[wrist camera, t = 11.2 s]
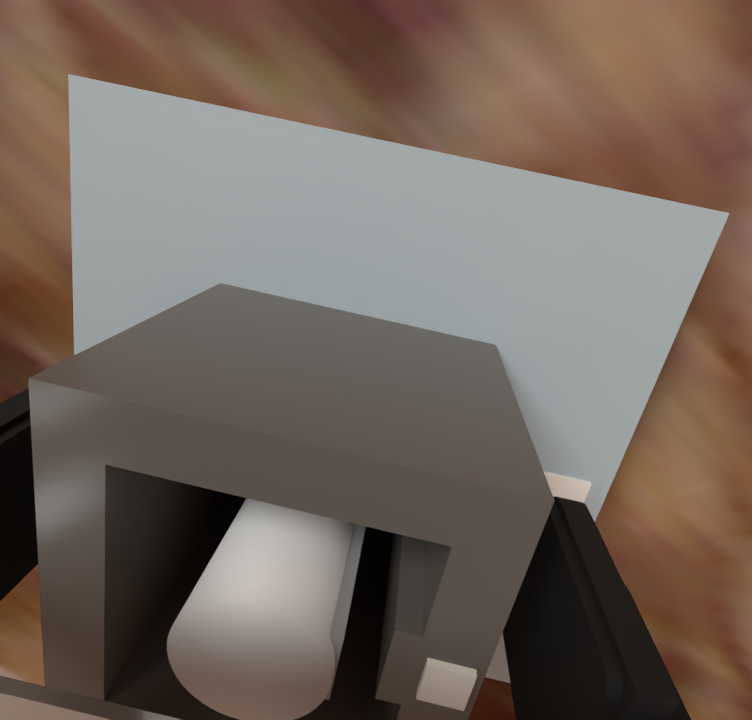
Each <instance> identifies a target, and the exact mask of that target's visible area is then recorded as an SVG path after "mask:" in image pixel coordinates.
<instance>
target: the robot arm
mask: <svg viewBox="0 0 752 720" xmlns="http://www.w3.org/2000/svg"><path fill="white" fill-rule="evenodd" d="M553 498H554V504H553V506H552V509H551V511H550V514H549V516H548V519H547V521H546V524H545V526H544V529H543V531H542V534H541V536H540V539H539V541H538V544H537V546H536V549H535V552H534V554H533V557H532V559H531V562H530V564H529V567H528V569H527V572H526V574H525V577H524V579H523V582H522V584H521V587H520V589H519V592H518V594H517V597H516V600H515V602H514V605H513V607H512V610H511V612H510V615H509V617H508V620H507V622H506V625H505V627H504V630H503V639H504V645H505V651H506V657H507V664H508V670H509V676H510V683H511V689H512V695H513V701H514V708H515V714H516V720H691V719H690V717H689V714H688V712H687V710H686V708H685V706H684V704H683V702H682V700H681V698H680V696H679V694H678V692H677V689H676V687H675V685H674V683H673V681H672V679H671V677H670V675H669V673H668V671H667V669H666V667H665V665H664V662H663V660H662V658H661V656H660V654H659V652H658V650H657V648H656V646H655V644H654V642H653V640H652V637H651V635H650V633H649V631H648V629H647V627H646V625H645V623H644V621H643V619H642V617H641V615H640V613H639V610H638V608H637V606H636V604H635V602H634V600H633V598H632V596H631V594H630V592H629V590H628V589H627V587H626V586H625V584H624V583H623V581H622V579H621V577H620V575H619V573H618V571H617V568H616V566H615V564H614V562H613V560H612V558H611V556H610V554H609V552H608V550H607V547H606V545H605V543H604V541H603V539H602V537H601V535H600V533H599V531H598V529H597V526H596V524H595V522H594V520H593V518H592V516H591V514H590V512H589V510H588V508H587V506H586V504H585V503H582V502H578V501H574V500H570V499H565V498H561V497H557V496H555V497H553ZM37 564H38V548H37V530H36V512H35V493H34V475H33V457H32V438H31V420H30V402H29V389H27V390H25V391H23V392H21V393H19V394H17V395H15V396H13V397H11V398H10V399H8V400H6V401H4V402H2V403H0V601H1V600H2V599H3V598H4V597H5V596H6V595H7V594H8V593H9V592H10V591H11V590H12V589H13V588H14V587H15V586H16V585H17V584H18V583H19V582H20V581H21V580H22V579H23V578H24V577H25V576H26V575H27V574H28V573H29V572H30V571H31V570H32V569H33V568H34V567H35V566H36V565H37ZM0 720H181V719H177V718H173V717H169V716H165V715H161V714H157V713H152V712H148V711H144V710H140V709H136V708H132V707H128V706H124V705H120V704H115V703H111V702H107V701H103V700H99V699H95V698H91V697H87V696H83V695H78V694H74V693H70V692H66V691H62V690H58V689H54V688H50V687H45V686H41V685H37V684H33V683H29V682H24V681H20V680H16V679H12V678H7V677H3V676H0Z"/></svg>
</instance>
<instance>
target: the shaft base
mask: <svg viewBox="0 0 752 720" xmlns="http://www.w3.org/2000/svg"><path fill="white" fill-rule="evenodd" d="M68 79H69V128H70V176H71V225H72V273H73V322H74V355H76V354H78V353H80V352H82V351H84V350H86V349H88V348H90V347H92V346H94V345H96V344H98V343H100V342H102V341H104V340H106V339H108V338H110V337H112V336H114V335H116V334H118V333H120V332H122V331H125V330H127V329H129V328H131V327H133V326H135V325H137V324H139V323H141V322H143V321H145V320H147V319H149V318H151V317H153V316H155V315H157V314H159V313H161V312H163V311H165V310H167V309H169V308H171V307H173V306H175V305H177V304H179V303H181V302H183V301H185V300H187V299H189V298H191V297H193V296H195V295H197V294H199V293H201V292H203V291H205V290H207V289H209V288H211V287H213V286H215V285H217V284H220V283H223V284H227V285H232V286H236V287H240V288H245V289H249V290H254V291H258V292H263V293H267V294H272V295H276V296H281V297H285V298H289V299H294V300H298V301H303V302H307V303H312V304H316V305H321V306H325V307H330V308H334V309H338V310H343V311H347V312H352V313H356V314H361V315H365V316H370V317H374V318H379V319H383V320H387V321H392V322H396V323H401V324H405V325H410V326H414V327H419V328H423V329H428V330H432V331H436V332H441V333H445V334H450V335H454V336H459V337H463V338H468V339H472V340H477V341H481V342H486V343H490V344H494V345H496V347H497V349H498V352H499V355H500V357H501V360H502V363H503V365H504V368H505V371H506V373H507V376H508V379H509V381H510V384H511V386H512V389H513V392H514V394H515V397H516V400H517V402H518V405H519V408H520V410H521V413H522V416H523V418H524V421H525V424H526V426H527V429H528V432H529V434H530V437H531V440H532V442H533V445H534V448H535V450H536V453H537V456H538V458H539V461H540V464H541V466H542V469H543V472H544V474H545V477H546V479H547V482H548V485H549V487H550V490H551V493H552V495H553V497H555V496H557V497H561V498H565V499H570V500H574V501H578V502H582V503H585V504H586V506H587V508H588V510H589V512H590V514H591V516H592V518H593V520H594V522H595V521H596V518H597V516H598V514H599V511H600V509H601V507H602V504H603V502H604V500H605V498H606V495H607V493H608V491H609V488H610V486H611V484H612V482H613V479H614V477H615V475H616V472H617V470H618V468H619V465H620V463H621V461H622V459H623V456H624V454H625V452H626V449H627V447H628V445H629V443H630V440H631V438H632V436H633V433H634V431H635V429H636V426H637V424H638V422H639V420H640V417H641V415H642V413H643V410H644V408H645V406H646V404H647V401H648V399H649V397H650V394H651V392H652V390H653V387H654V385H655V383H656V381H657V378H658V376H659V374H660V371H661V369H662V367H663V365H664V362H665V360H666V358H667V355H668V353H669V351H670V348H671V346H672V344H673V342H674V339H675V337H676V335H677V332H678V330H679V328H680V325H681V323H682V321H683V319H684V316H685V314H686V312H687V309H688V307H689V305H690V303H691V300H692V298H693V296H694V293H695V291H696V289H697V286H698V284H699V282H700V280H701V277H702V275H703V273H704V270H705V268H706V266H707V264H708V261H709V259H710V257H711V254H712V252H713V250H714V247H715V245H716V243H717V241H718V238H719V236H720V234H721V231H722V229H723V227H724V225H725V222H726V220H727V218H728V215H729V213H725V212H721V211H716V210H711V209H706V208H702V207H697V206H692V205H687V204H683V203H678V202H673V201H668V200H664V199H659V198H654V197H649V196H645V195H640V194H635V193H630V192H626V191H621V190H616V189H611V188H607V187H602V186H597V185H592V184H588V183H583V182H578V181H573V180H569V179H564V178H559V177H554V176H550V175H545V174H540V173H535V172H531V171H526V170H521V169H516V168H512V167H507V166H502V165H497V164H493V163H488V162H483V161H478V160H474V159H469V158H464V157H459V156H455V155H450V154H445V153H440V152H436V151H431V150H426V149H421V148H417V147H412V146H407V145H402V144H398V143H393V142H388V141H383V140H379V139H374V138H369V137H365V136H360V135H355V134H350V133H346V132H341V131H336V130H331V129H327V128H322V127H317V126H312V125H308V124H303V123H298V122H293V121H289V120H284V119H279V118H274V117H270V116H265V115H260V114H255V113H251V112H246V111H241V110H236V109H232V108H227V107H222V106H217V105H213V104H208V103H203V102H198V101H194V100H189V99H184V98H179V97H175V96H170V95H165V94H160V93H156V92H151V91H146V90H141V89H137V88H132V87H127V86H122V85H118V84H113V83H108V82H103V81H99V80H94V79H89V78H84V77H80V76H75V75H70V74H68ZM365 527H366V526H362V525H358V524H353V523H349V522H345V521H341V520H337V519H332V518H328V517H324V516H320V515H316V514H311V513H307V512H303V511H299V510H294V509H290V508H286V507H282V506H278V505H273V504H269V503H265V502H261V501H257V500H252V499H248V498H246V500H245V502H244V503H243V505H242V507H241V508H240V510H239V512H238V514H237V515H236V517H235V519H234V521H233V522H232V524H231V526H230V527H229V529H228V531H227V533H226V534H225V536H224V538H223V539H222V541H221V543H220V545H219V546H218V548H217V550H216V551H215V553H214V555H213V557H212V558H211V560H210V562H209V563H208V565H207V567H206V569H205V570H204V572H203V574H202V575H201V577H200V579H199V581H198V582H197V584H196V586H195V587H194V589H193V591H192V593H191V594H190V596H189V598H188V600H187V601H186V603H185V605H184V606H183V608H182V610H181V612H180V613H179V615H178V617H177V618H176V620H175V622H174V624H173V625H172V627H171V629H170V632H169V635H168V639H167V654H168V659H169V662H170V665H171V668H172V670H173V672H174V674H175V675H176V677H177V678H178V680H179V681H180V683H181V684H182V685H183V686H184V687H185V688H186V690H187V691H188V692H189V693H191V694H192V695H193V696H194V697H195V698H196V699H198V700H199V701H200V702H202V703H203V704H205V705H206V706H208V707H210V708H211V709H213V710H215V711H217V712H219V713H222V714H224V715H227V716H229V717H232V718H236V719H239V720H294V719H297V718H300V717H302V716H304V715H307V714H308V713H310V712H311V711H313V710H314V709H315V708H317V707H318V706H319V705H320V704H321V703H322V701H323V700H324V699H326V700H329V699H330V695H331V691H332V687H333V683H334V678H335V674H336V670H337V666H338V662H339V657H340V653H341V649H342V645H343V641H344V636H345V631H346V625H347V620H348V615H349V610H350V605H351V600H352V594H353V589H354V584H355V579H356V574H357V569H358V563H359V558H360V553H361V548H362V543H363V537H364V532H365ZM485 677H487V678H491V679H495V680H499V681H503V682H507V683H510V676H509V670H508V664H507V657H506V651H505V645H504V639H503V632H502V635H501V637H500V640H499V642H498V645H497V648H496V650H495V653H494V655H493V658H492V660H491V663H490V665H489V668H488V670H487V673H486V675H485Z"/></svg>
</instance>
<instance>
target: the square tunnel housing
mask: <svg viewBox="0 0 752 720" xmlns="http://www.w3.org/2000/svg"><path fill="white" fill-rule="evenodd" d="M28 383H29V402H30V420H31V438H32V457H33V475H34V493H35V512H36V530H37V548H38V567H39V585H40V603H41V622H42V640H43V658H44V677H45V687H50V688H54V689H58V690H62V691H66V692H70V693H74V694H78V695H83V696H87V697H91V698H95V699H99V700H103V701H107V702H111V703H115V704H120V705H124V706H128V707H132V708H136V709H140V710H144V711H148V712H152V713H157V714H161V715H165V716H169V717H173V718H177V719H181V720H239V719H236V718H232V717H229V716H227V715H224V714H222V713H219V712H217V711H215V710H213V709H211V708H210V707H208V706H206V705H205V704H203V703H202V702H200V701H199V700H198V699H196V698H195V697H194V696H193V695H192V694H191V693H189V692H188V691H187V690H186V688H185V687H184V686H183V685H182V684H181V683H180V681H179V680H178V678H177V677H176V675H175V674H174V672H173V670H172V668H171V665H170V662H169V659H168V654H167V639H168V635H169V632H170V629H171V627H172V625H173V624H174V622H175V620H176V618H177V617H178V615H179V613H180V612H181V610H182V608H183V606H184V605H185V603H186V601H187V600H188V598H189V596H190V594H191V593H192V591H193V589H194V587H195V586H196V584H197V582H198V581H199V579H200V577H201V575H202V574H203V572H204V570H205V569H206V567H207V565H208V563H209V562H210V560H211V558H212V557H213V555H214V553H215V551H216V550H217V548H218V546H219V545H220V543H221V541H222V539H223V538H224V536H225V534H226V533H227V531H228V529H229V527H230V526H231V524H232V522H233V521H234V519H235V517H236V515H237V514H238V512H239V510H240V508H241V507H242V505H243V503H244V502H245V500H246V498H248V499H252V500H257V501H261V502H265V503H269V504H273V505H278V506H282V507H286V508H290V509H294V510H299V511H303V512H307V513H311V514H316V515H320V516H324V517H328V518H332V519H337V520H341V521H345V522H349V523H353V524H358V525H362V526H366V527H365V532H364V537H363V543H362V548H361V553H360V558H359V563H358V569H357V574H356V579H355V584H354V589H353V594H352V600H351V605H350V610H349V615H348V620H347V625H346V631H345V636H344V641H343V645H342V649H341V653H340V657H339V662H338V666H337V670H336V674H335V678H334V683H333V687H332V691H331V695H330V699H329V700H326V699H324V700H323V701H322V703H321V704H320V705H319V706H318V707H317V708H315V709H314V710H313V711H311V712H310V713H308V714H307V715H304V716H302V717H300V718H297V719H294V720H468V718H469V716H470V713H471V711H472V708H473V706H474V703H475V701H476V698H477V695H478V693H479V690H480V688H481V685H482V683H483V680H484V678H485V675H486V673H487V670H488V668H489V665H490V663H491V660H492V658H493V655H494V653H495V650H496V648H497V645H498V642H499V640H500V637H501V635H502V632H503V630H504V627H505V625H506V622H507V620H508V617H509V615H510V612H511V610H512V607H513V605H514V602H515V600H516V597H517V594H518V592H519V589H520V587H521V584H522V582H523V579H524V577H525V574H526V572H527V569H528V567H529V564H530V562H531V559H532V557H533V554H534V552H535V549H536V546H537V544H538V541H539V539H540V536H541V534H542V531H543V529H544V526H545V524H546V521H547V519H548V516H549V514H550V511H551V509H552V506H553V504H554V498H553V495H552V493H551V490H550V487H549V485H548V482H547V479H546V477H545V474H544V472H543V469H542V466H541V464H540V461H539V458H538V456H537V453H536V450H535V448H534V445H533V442H532V440H531V437H530V434H529V432H528V429H527V426H526V424H525V421H524V418H523V416H522V413H521V410H520V408H519V405H518V402H517V400H516V397H515V394H514V392H513V389H512V386H511V384H510V381H509V379H508V376H507V373H506V371H505V368H504V365H503V363H502V360H501V357H500V355H499V352H498V349H497V347H496V345H494V344H490V343H486V342H481V341H477V340H472V339H468V338H463V337H459V336H454V335H450V334H445V333H441V332H436V331H432V330H428V329H423V328H419V327H414V326H410V325H405V324H401V323H396V322H392V321H387V320H383V319H379V318H374V317H370V316H365V315H361V314H356V313H352V312H347V311H343V310H338V309H334V308H330V307H325V306H321V305H316V304H312V303H307V302H303V301H298V300H294V299H289V298H285V297H281V296H276V295H272V294H267V293H263V292H258V291H254V290H249V289H245V288H240V287H236V286H232V285H227V284H223V283H220V284H217V285H215V286H213V287H211V288H209V289H207V290H205V291H203V292H201V293H199V294H197V295H195V296H193V297H191V298H189V299H187V300H185V301H183V302H181V303H179V304H177V305H175V306H173V307H171V308H169V309H167V310H165V311H163V312H161V313H159V314H157V315H155V316H153V317H151V318H149V319H147V320H145V321H143V322H141V323H139V324H137V325H135V326H133V327H131V328H129V329H127V330H125V331H122V332H120V333H118V334H116V335H114V336H112V337H110V338H108V339H106V340H104V341H102V342H100V343H98V344H96V345H94V346H92V347H90V348H88V349H86V350H84V351H82V352H80V353H78V354H76V355H74V356H72V357H70V358H68V359H66V360H64V361H62V362H60V363H58V364H56V365H54V366H52V367H50V368H48V369H46V370H44V371H42V372H40V373H38V374H36V375H34V376H32V377H30V378H28Z"/></svg>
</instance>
